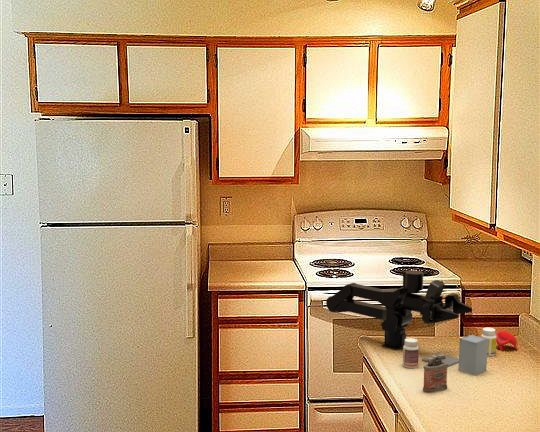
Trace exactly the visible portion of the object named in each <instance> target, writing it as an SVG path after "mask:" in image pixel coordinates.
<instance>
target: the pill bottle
mask: <svg viewBox="0 0 540 432" xmlns="http://www.w3.org/2000/svg"><path fill="white" fill-rule="evenodd" d="M418 344H419V340H418V339H416V338H412V337H409V338H407V337H406V339H405V345H404V346H403V348H402V365H403V367H405V368H407V369H416V368H418V367H419V351H420V350H419V349H420V347H419V346H418Z"/></svg>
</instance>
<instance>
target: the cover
mask: <svg viewBox="0 0 540 432" xmlns="http://www.w3.org/2000/svg"><path fill="white" fill-rule="evenodd" d="M458 344H459V347H458V348H459V349H458V359H459V363H458V369H457V370H458V371H461V372H464V373H468V374H471V375H473V376H478V375H479V374H482V373H484V372H486V371H487V364H488V363H487V362H488V356H487V347H488V339H485V338H482V337H481V336H478V335H473V334H468V335H465V336H462V337H460V338H459V343H458Z"/></svg>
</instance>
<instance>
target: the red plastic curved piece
mask: <svg viewBox="0 0 540 432" xmlns="http://www.w3.org/2000/svg"><path fill="white" fill-rule="evenodd" d="M495 335H496V345H497V346H498V348H499V349H500V351H501V350H502V351H504V347H503V346H506V345H508V344H511V345H513V347H514V348H515V350H516V351H517V350H518V346H517V345H518V340H517V339H516V337H515V336H514V334H512V333H510V332H508V331H506V330H499V331H497V332H495Z"/></svg>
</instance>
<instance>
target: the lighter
mask: <svg viewBox="0 0 540 432" xmlns="http://www.w3.org/2000/svg"><path fill="white" fill-rule="evenodd" d="M444 354H445V353H442V355H438V356H435V355H433V354H431V355H432V357H430V358H428V360H427V362H426V363H425V364H423V386H422V392H423V393H426V394H430V393H431V394H432V393H436V392H441V391H445V390H447V389H448V383H447V381H448V380H447V379H448V367H447V366H448V362H445V361H442V360H445V359H446V356H445V355H446V354H445V355H444Z"/></svg>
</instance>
